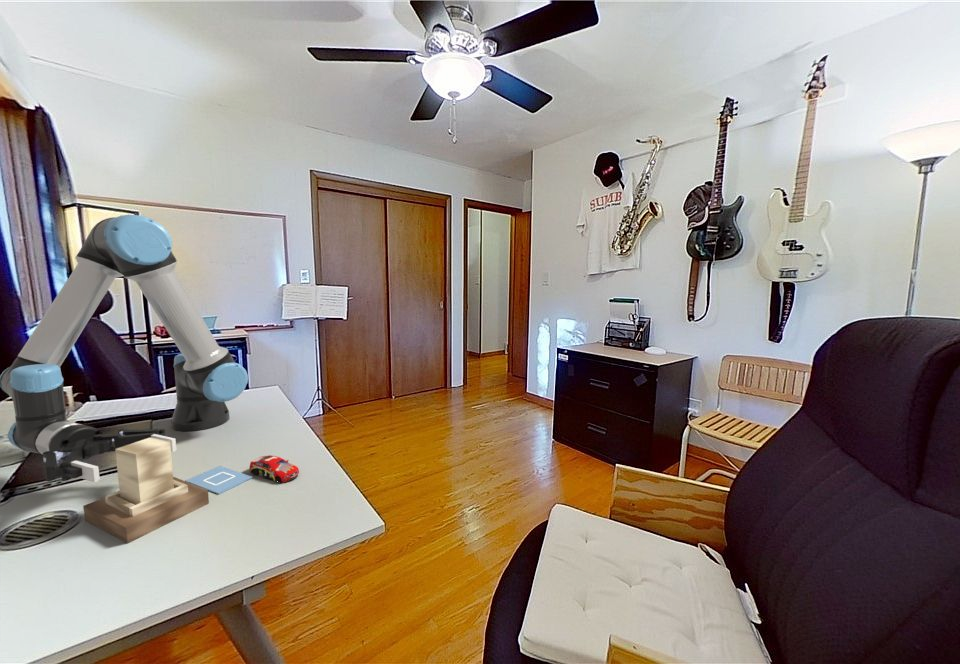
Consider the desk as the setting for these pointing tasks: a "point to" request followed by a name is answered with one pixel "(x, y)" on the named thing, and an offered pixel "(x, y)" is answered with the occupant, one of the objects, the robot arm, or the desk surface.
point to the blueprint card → (219, 479)
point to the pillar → (144, 470)
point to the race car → (274, 468)
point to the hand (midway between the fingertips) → (138, 458)
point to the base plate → (144, 510)
